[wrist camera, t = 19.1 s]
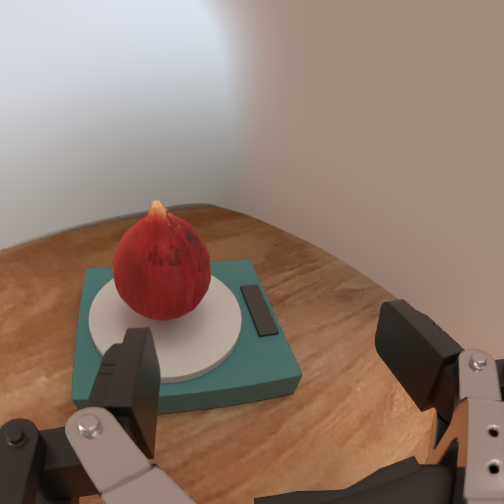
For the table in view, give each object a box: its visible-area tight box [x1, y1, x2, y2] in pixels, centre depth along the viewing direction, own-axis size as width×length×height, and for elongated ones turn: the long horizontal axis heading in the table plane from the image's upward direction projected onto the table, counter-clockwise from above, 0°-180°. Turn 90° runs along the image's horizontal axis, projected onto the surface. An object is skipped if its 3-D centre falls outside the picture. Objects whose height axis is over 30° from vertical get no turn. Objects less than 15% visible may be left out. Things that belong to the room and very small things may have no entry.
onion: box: [112, 200, 211, 321], centre depth 18 cm, size 6×6×8 cm
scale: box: [72, 260, 302, 414], centre depth 22 cm, size 14×12×3 cm
